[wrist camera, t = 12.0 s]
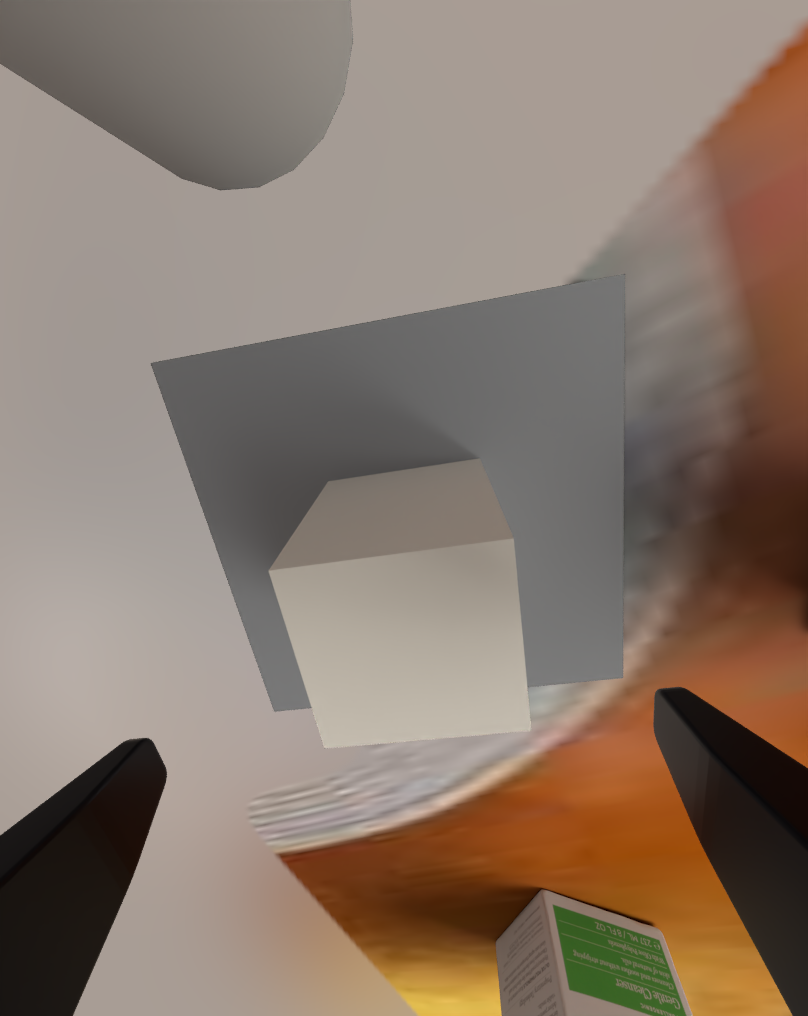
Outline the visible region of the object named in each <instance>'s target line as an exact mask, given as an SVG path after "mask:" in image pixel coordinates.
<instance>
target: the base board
mask: <svg viewBox="0 0 808 1016" xmlns="http://www.w3.org/2000/svg"><path fill="white" fill-rule="evenodd" d="M624 364H625V274H622V275H616V276H611V277H606V278H600V279H595V280H590V281H584V282H579V283H574V284H569V285H563V286H558V287H553V288H547V289H542V290H537V291H531V292H526V293H521V294H515V295H511V296H505V297H500V298H494V299H489V300H484V301H478V302H473V303H468V304H462V305H457V306H452V307H446V308H441V309H436V310H430V311H425V312H421V313H414V314H409V315H404V316H398V317H393V318H388V319H383V320H377V321H372V322H367V323H362V324H356V325H351V326H345V327H340V328H335V329H330V330H325V331H319V332H313V333H308V334H303V335H298V336H292V337H287V338H282V339H276V340H271V341H266V342H261V343H255V344H250V345H244V346H239V347H234V348H228V349H223V350H218V351H213V352H207V353H202V354H197V355H191V356H186V357H181V358H175V359H170V360H165V361H159V362H154V363H151V366H152V368H153V371H154V374H155V377H156V380H157V383H158V385H159V388H160V391H161V394H162V397H163V399H164V402H165V405H166V408H167V411H168V414H169V416H170V419H171V422H172V425H173V427H174V430H175V433H176V436H177V439H178V441H179V445H180V447H181V450H182V453H183V455H184V458H185V461H186V464H187V467H188V470H189V473H190V476H191V478H192V481H193V484H194V487H195V490H196V492H197V495H198V498H199V501H200V504H201V506H202V509H203V512H204V515H205V518H206V521H207V523H208V526H209V529H210V532H211V535H212V537H213V540H214V543H215V546H216V549H217V551H218V554H219V557H220V560H221V563H222V566H223V569H224V571H225V574H226V577H227V580H228V582H229V585H230V588H231V591H232V594H233V596H234V599H235V602H236V605H237V608H238V611H239V614H240V616H241V619H242V622H243V625H244V627H245V630H246V633H247V636H248V639H249V642H250V645H251V647H252V650H253V653H254V656H255V658H256V662H257V664H258V667H259V670H260V673H261V676H262V678H263V681H264V684H265V687H266V690H267V693H268V695H269V698H270V701H271V704H272V707H273V709H274V711H285V710H295V709H306V708H312V707H311V704H310V701H309V698H308V695H307V692H306V688H305V685H304V682H303V679H302V676H301V673H300V669H299V666H298V663H297V660H296V657H295V654H294V650H293V647H292V644H291V641H290V638H289V635H288V631H287V628H286V625H285V622H284V619H283V616H282V612H281V609H280V606H279V603H278V600H277V597H276V593H275V590H274V587H273V584H272V581H271V577H270V574H269V569H270V568H271V566H272V565H273V563H274V562H275V560H276V559H277V557H278V556H279V554H280V553H281V551H282V550H283V548H284V547H285V545H286V544H287V542H288V541H289V539H290V538H291V536H292V535H293V533H294V532H295V530H296V529H297V527H298V526H299V524H300V523H301V521H302V520H303V518H304V517H305V515H306V514H307V512H308V511H309V509H310V508H311V506H312V505H313V503H314V502H315V500H316V499H317V497H318V496H319V494H320V493H321V491H322V490H323V488H324V487H325V485H326V484H327V482H328V481H333V480H340V479H347V478H353V477H360V476H366V475H373V474H380V473H386V472H393V471H399V470H406V469H413V468H419V467H426V466H432V465H439V464H446V463H452V462H459V461H465V460H472V459H478V458H480V460H481V462H482V465H483V467H484V469H485V472H486V474H487V477H488V479H489V481H490V484H491V486H492V488H493V491H494V493H495V495H496V498H497V500H498V502H499V505H500V507H501V510H502V512H503V514H504V517H505V519H506V521H507V524H508V526H509V528H510V531H511V533H512V535H513V538H514V546H515V557H516V568H517V579H518V590H519V601H520V612H521V622H522V633H523V644H524V655H525V666H526V677H527V687H534V686H545V685H555V684H565V683H576V682H586V681H597V680H607V679H617V678H623V586H624Z"/></svg>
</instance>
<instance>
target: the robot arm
mask: <svg viewBox="0 0 808 1016" xmlns="http://www.w3.org/2000/svg"><path fill="white" fill-rule="evenodd" d="M654 733H655V737H656V740H657V742H658V745H659V747H660V749H661V752H662V754H663V757H664V759H665V761H666V764H667V766H668V768H669V771H670V773H671V775H672V778H673V780H674V783H675V785H676V787H677V790H678V792H679V794H680V797H681V799H682V801H683V804H684V806H685V808H686V811H687V813H688V816H689V818H690V820H691V823H692V825H693V827H694V829H695V832H696V834H697V836H698V838H699V841H700V843H701V845H702V847H703V849H704V851H705V853H706V855H707V857H708V859H709V861H710V862H711V864H712V866H713V868H714V870H715V872H716V874H717V876H718V877H719V879H720V881H721V883H722V885H723V887H724V889H725V890H726V892H727V894H728V896H729V898H730V900H731V902H732V903H733V905H734V907H735V909H736V911H737V913H738V915H739V916H740V918H741V920H742V922H743V924H744V926H745V928H746V929H747V931H748V933H749V935H750V937H751V939H752V941H753V943H754V944H755V946H756V948H757V950H758V952H759V954H760V956H761V957H762V959H763V961H764V963H765V965H766V967H767V969H768V970H769V972H770V974H771V976H772V978H773V980H774V982H775V983H776V985H777V987H778V989H779V991H780V993H781V995H782V996H783V998H784V1000H785V1002H786V1004H787V1006H788V1008H789V1010H790V1011H791V1013H792V1015H793V1016H808V768H806V767H805V766H803V765H802V764H800V763H799V762H797V761H796V760H794V759H793V758H791V757H790V756H788V755H787V754H785V753H784V752H782V751H781V750H779V749H777V748H776V747H774V746H773V745H771V744H770V743H768V742H767V741H765V740H764V739H762V738H761V737H759V736H758V735H756V734H755V733H753V732H751V731H750V730H748V729H747V728H745V727H744V726H742V725H741V724H739V723H738V722H736V721H735V720H733V719H732V718H730V717H729V716H727V715H725V714H724V713H722V712H721V711H719V710H718V709H716V708H715V707H713V706H712V705H710V704H709V703H707V702H706V701H704V700H703V699H701V698H700V697H698V696H696V695H695V694H693V693H692V692H690V691H689V690H687V689H685V688H682V687H673V688H663V689H658V690H657V691H656V693H655V699H654ZM166 778H167V771H166V767H165V765H164V763H163V761H162V759H161V757H160V755H159V753H158V751H157V749H156V747H155V745H154V743H153V741H152V740H150V739H149V738H139V739H130V740H127V741H125V742H123V743H121V744H120V745H119V746H118V747H116V748H115V749H114V750H112V751H111V752H110V753H108V754H107V755H106V756H104V757H103V758H102V759H100V760H99V761H98V762H96V763H95V764H94V765H92V766H91V767H90V768H89V769H87V770H86V771H85V772H83V773H82V774H81V775H79V776H78V777H77V778H75V779H74V780H73V781H71V782H70V783H69V784H67V785H66V786H65V787H63V788H62V789H61V790H60V791H58V792H57V793H56V794H54V795H53V796H52V797H51V798H49V799H48V800H46V801H45V802H44V803H42V804H41V805H40V806H38V807H37V808H36V809H35V810H33V811H32V812H31V813H29V814H28V815H27V816H25V817H24V818H23V819H21V820H20V821H19V822H17V823H16V824H15V825H13V826H12V827H11V828H10V829H8V830H7V831H6V832H4V833H3V834H2V835H0V1016H73V1014H74V1012H75V1009H76V1007H77V1005H78V1003H79V1000H80V998H81V996H82V993H83V991H84V989H85V987H86V984H87V982H88V980H89V977H90V975H91V973H92V971H93V968H94V966H95V963H96V961H97V959H98V957H99V954H100V952H101V950H102V948H103V945H104V943H105V941H106V938H107V936H108V934H109V932H110V929H111V927H112V925H113V922H114V920H115V918H116V915H117V913H118V911H119V908H120V906H121V904H122V902H123V899H124V897H125V895H126V892H127V890H128V888H129V885H130V883H131V880H132V878H133V875H134V872H135V870H136V867H137V864H138V862H139V859H140V856H141V853H142V850H143V847H144V844H145V841H146V838H147V836H148V833H149V830H150V827H151V824H152V821H153V818H154V815H155V812H156V809H157V807H158V804H159V800H160V798H161V795H162V792H163V789H164V786H165V783H166Z"/></svg>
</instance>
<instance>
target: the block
mask: <svg viewBox="0 0 808 1016" xmlns="http://www.w3.org/2000/svg"><path fill="white" fill-rule="evenodd" d="M269 574H270V577H271V581H272V584H273V587H274V590H275V593H276V597H277V600H278V603H279V606H280V609H281V612H282V616H283V619H284V622H285V625H286V628H287V631H288V635H289V638H290V641H291V644H292V647H293V650H294V654H295V657H296V660H297V663H298V666H299V669H300V673H301V676H302V679H303V682H304V685H305V688H306V692H307V695H308V698H309V701H310V704H311V707H312V711H313V714H314V717H315V720H316V723H317V726H318V729H319V733H320V735H321V739H322V742H323V745H324V748H325V749H326V748H338V747H349V746H361V745H373V744H384V743H396V742H407V741H419V740H430V739H442V738H453V737H465V736H476V735H488V734H500V733H511V732H523V731H531V720H530V709H529V698H528V687H527V677H526V666H525V655H524V644H523V633H522V622H521V612H520V601H519V590H518V579H517V568H516V557H515V546H514V538H513V535H512V533H511V531H510V528H509V526H508V524H507V521H506V519H505V517H504V514H503V512H502V510H501V507H500V505H499V502H498V500H497V498H496V495H495V493H494V491H493V488H492V486H491V484H490V481H489V479H488V477H487V474H486V472H485V469H484V467H483V465H482V462H481V460H480V458H478V459H472V460H465V461H459V462H452V463H446V464H439V465H432V466H426V467H419V468H413V469H406V470H399V471H393V472H386V473H380V474H373V475H366V476H360V477H353V478H347V479H340V480H333V481H328V482H327V484H326V485H325V487H324V488H323V490H322V491H321V493H320V494H319V496H318V497H317V499H316V500H315V502H314V503H313V505H312V506H311V508H310V509H309V511H308V512H307V514H306V515H305V517H304V518H303V520H302V521H301V523H300V524H299V526H298V527H297V529H296V530H295V532H294V533H293V535H292V536H291V538H290V539H289V541H288V542H287V544H286V545H285V547H284V548H283V550H282V551H281V553H280V554H279V556H278V557H277V559H276V560H275V562H274V563H273V565H272V566H271V568H270V569H269Z"/></svg>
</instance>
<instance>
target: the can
mask: <svg viewBox="0 0 808 1016" xmlns="http://www.w3.org/2000/svg"><path fill="white" fill-rule="evenodd" d="M352 44H353V31H352V17H351V3H350V0H0V64H2V65H3V66H5V67H6V68H8V69H10V70H11V71H13V72H14V73H16V74H17V75H19V76H21V77H22V78H24V79H25V80H27V81H29V82H30V83H32V84H33V85H35V86H36V87H38V88H39V89H41V90H43V91H44V92H46V93H47V94H49V95H51V96H52V97H54V98H55V99H57V100H59V101H60V102H62V103H63V104H65V105H67V106H68V107H70V108H71V109H73V110H74V111H76V112H77V113H79V114H81V115H83V116H84V117H85V118H87V119H88V120H90V121H92V122H93V123H95V124H96V125H98V126H100V127H101V128H103V129H104V130H106V131H107V132H109V133H111V134H112V135H114V136H115V137H117V138H118V139H120V140H122V141H123V142H125V143H126V144H128V145H130V146H131V147H133V148H134V149H136V150H138V151H139V152H141V153H142V154H144V155H145V156H147V157H149V158H150V159H152V160H153V161H155V162H156V163H158V164H160V165H161V166H163V167H164V168H166V169H168V170H169V171H171V172H172V173H174V174H175V175H177V176H179V177H180V178H182V179H185V180H188V181H192V182H195V183H198V184H202V185H205V186H208V187H212V188H215V189H218V190H230V189H243V188H255V187H260V186H262V185H264V184H266V183H268V182H270V181H272V180H274V179H276V178H278V177H280V176H282V175H284V174H286V173H288V172H290V171H292V170H294V169H295V168H296V167H297V166H298V165H299V164H300V163H301V162H302V161H303V159H304V158H305V157H306V156H307V155H308V154H309V153H310V152H311V151H312V150H313V149H314V147H315V146H316V145H317V144H318V143H319V142H320V141H321V140H322V139H323V137H324V135H325V133H326V131H327V129H328V127H329V125H330V122H331V120H332V118H333V116H334V114H335V112H336V110H337V108H338V105H339V103H340V101H341V99H342V97H343V95H344V90H345V84H346V79H347V73H348V67H349V61H350V55H351V49H352Z"/></svg>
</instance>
